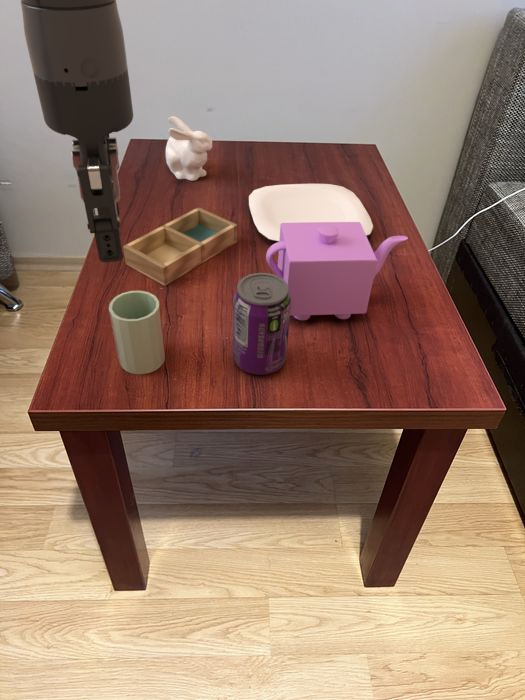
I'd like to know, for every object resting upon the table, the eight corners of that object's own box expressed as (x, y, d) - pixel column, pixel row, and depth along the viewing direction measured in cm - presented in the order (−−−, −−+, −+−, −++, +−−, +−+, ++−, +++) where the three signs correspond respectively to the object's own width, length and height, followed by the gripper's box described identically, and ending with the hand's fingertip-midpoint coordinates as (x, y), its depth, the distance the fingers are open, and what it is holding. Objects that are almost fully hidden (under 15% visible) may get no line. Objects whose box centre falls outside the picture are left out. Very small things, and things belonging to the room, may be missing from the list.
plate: (381, 246, 95) (383, 237, 94) (259, 252, 92) (260, 243, 91) (348, 189, 111) (349, 181, 110) (243, 193, 108) (243, 185, 107)
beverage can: (286, 379, 70) (293, 307, 62) (231, 377, 70) (231, 304, 62) (285, 343, 76) (291, 271, 67) (234, 341, 75) (234, 269, 67)
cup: (140, 381, 69) (132, 327, 63) (109, 360, 72) (98, 306, 66) (174, 356, 73) (169, 303, 67) (143, 337, 75) (136, 284, 69)
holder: (164, 286, 84) (163, 268, 82) (125, 264, 88) (122, 246, 86) (237, 241, 94) (237, 224, 92) (199, 224, 98) (198, 206, 96)
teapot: (267, 324, 78) (271, 250, 70) (260, 283, 86) (263, 211, 77) (401, 320, 80) (421, 247, 72) (383, 280, 88) (400, 210, 79)
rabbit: (218, 178, 112) (216, 119, 104) (179, 190, 108) (175, 129, 99) (185, 158, 119) (182, 101, 111) (148, 168, 114) (141, 109, 106)
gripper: (38, 41, 49) (73, 206, 60) (24, 94, 39) (70, 281, 50) (123, 40, 50) (142, 201, 61) (131, 91, 40) (153, 272, 51)
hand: (110, 236), depth 55 cm, fingers open, 8 cm apart
